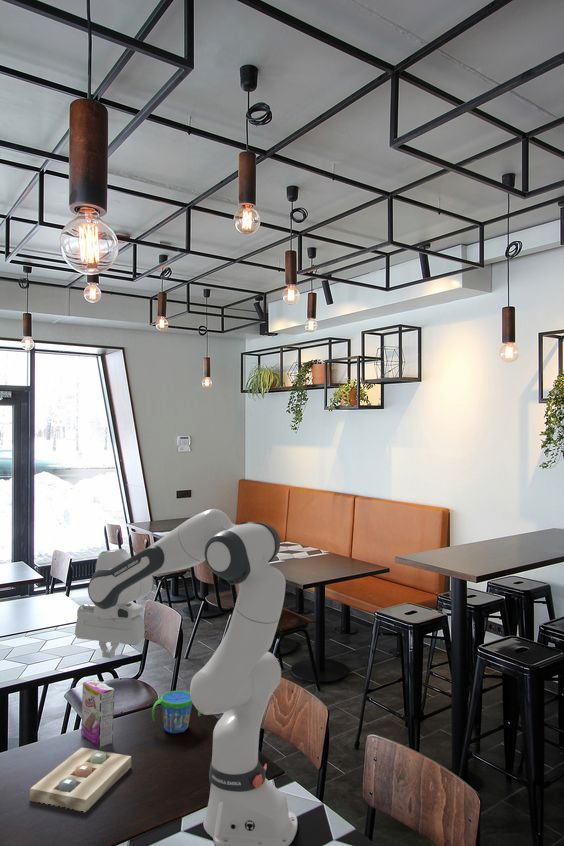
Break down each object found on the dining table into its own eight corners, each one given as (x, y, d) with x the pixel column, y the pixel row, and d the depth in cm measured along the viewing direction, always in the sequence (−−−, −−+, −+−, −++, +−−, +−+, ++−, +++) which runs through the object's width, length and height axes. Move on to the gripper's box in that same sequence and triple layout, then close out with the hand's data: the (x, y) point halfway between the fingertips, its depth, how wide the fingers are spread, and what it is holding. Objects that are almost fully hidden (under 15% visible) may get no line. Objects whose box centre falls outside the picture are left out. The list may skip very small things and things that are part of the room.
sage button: (108, 766, 167) (109, 752, 167) (100, 774, 163) (100, 759, 163) (95, 763, 168) (95, 750, 168) (86, 771, 164) (87, 757, 164)
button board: (130, 767, 167) (131, 756, 167) (85, 812, 146) (85, 799, 146) (81, 758, 171) (81, 747, 172) (29, 800, 150) (30, 788, 150)
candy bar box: (79, 736, 185) (81, 682, 185) (94, 730, 188) (96, 678, 189) (98, 749, 177) (100, 692, 178) (113, 743, 181) (115, 688, 181)
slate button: (79, 793, 153) (79, 778, 154) (69, 802, 149) (69, 787, 150) (64, 790, 155) (65, 775, 155) (54, 799, 151) (55, 784, 151)
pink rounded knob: (94, 779, 160) (95, 764, 160) (85, 787, 156) (85, 772, 156) (80, 776, 161) (81, 762, 161) (71, 785, 157) (72, 770, 157)
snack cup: (199, 720, 198) (200, 688, 198) (201, 735, 187) (202, 702, 188) (151, 723, 194) (152, 691, 195) (151, 738, 184) (152, 705, 184)
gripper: (71, 606, 167) (69, 656, 166) (136, 613, 161) (135, 665, 161) (84, 601, 173) (82, 649, 172) (148, 607, 168) (146, 657, 167)
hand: (108, 657), depth 166 cm, fingers closed
